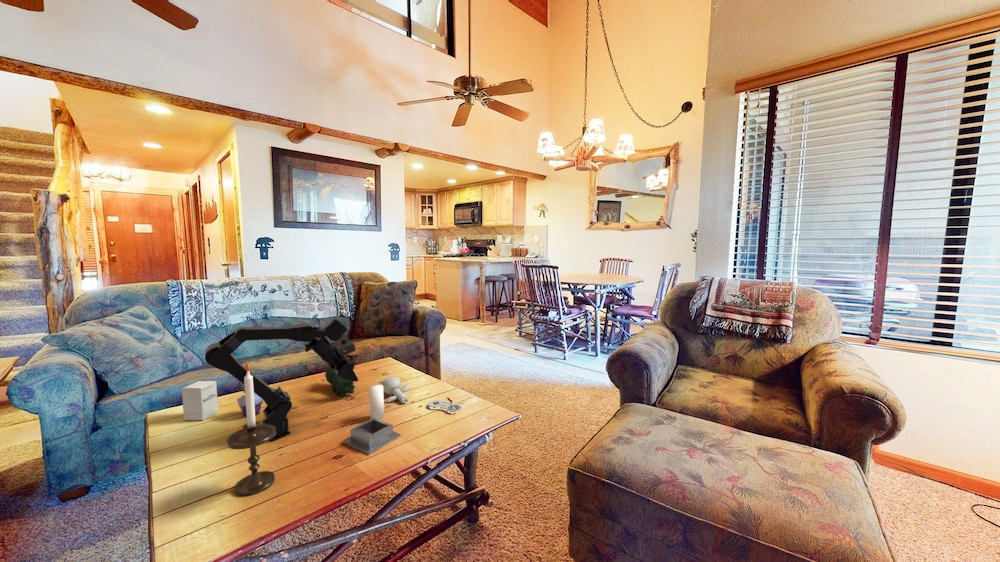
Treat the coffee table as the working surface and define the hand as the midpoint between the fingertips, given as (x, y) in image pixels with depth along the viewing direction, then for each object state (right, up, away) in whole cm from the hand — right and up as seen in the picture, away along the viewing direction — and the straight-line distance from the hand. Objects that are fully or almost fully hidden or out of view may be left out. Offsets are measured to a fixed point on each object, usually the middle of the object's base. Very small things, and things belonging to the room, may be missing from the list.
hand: (353, 377), depth 137 cm
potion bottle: (-39, -14, 0) cm, 42 cm away
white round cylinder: (+10, -15, -2) cm, 18 cm away
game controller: (+36, -14, +9) cm, 40 cm away
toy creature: (+11, -13, +17) cm, 24 cm away
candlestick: (-10, -19, -40) cm, 46 cm away
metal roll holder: (+14, -16, -18) cm, 28 cm away
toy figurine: (-15, -12, +22) cm, 29 cm away
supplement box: (-57, -15, -2) cm, 59 cm away
